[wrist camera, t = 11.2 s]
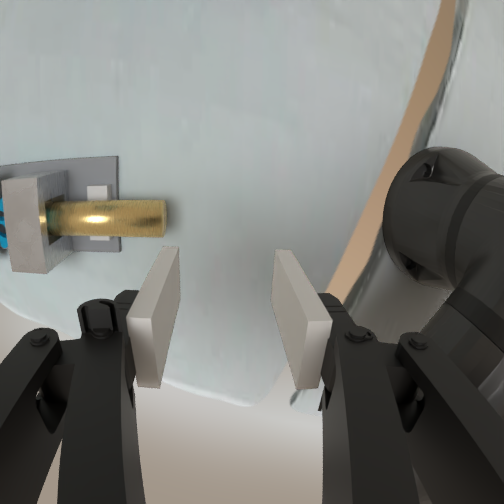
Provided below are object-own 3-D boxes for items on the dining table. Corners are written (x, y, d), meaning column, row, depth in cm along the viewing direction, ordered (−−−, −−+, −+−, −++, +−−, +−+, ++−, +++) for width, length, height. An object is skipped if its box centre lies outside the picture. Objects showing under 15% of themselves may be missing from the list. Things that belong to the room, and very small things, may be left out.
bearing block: (71, 169, 27) (36, 177, 20) (76, 249, 29) (46, 274, 23) (38, 171, 26) (1, 180, 20) (44, 248, 29) (12, 271, 23)
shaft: (166, 197, 26) (159, 204, 24) (166, 231, 27) (160, 242, 25) (37, 199, 25) (20, 206, 22) (40, 230, 26) (24, 239, 23)
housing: (118, 156, 27) (102, 158, 23) (121, 250, 30) (108, 265, 26) (-48, 173, 24) (-69, 179, 21) (-40, 245, 27) (-59, 256, 24)
